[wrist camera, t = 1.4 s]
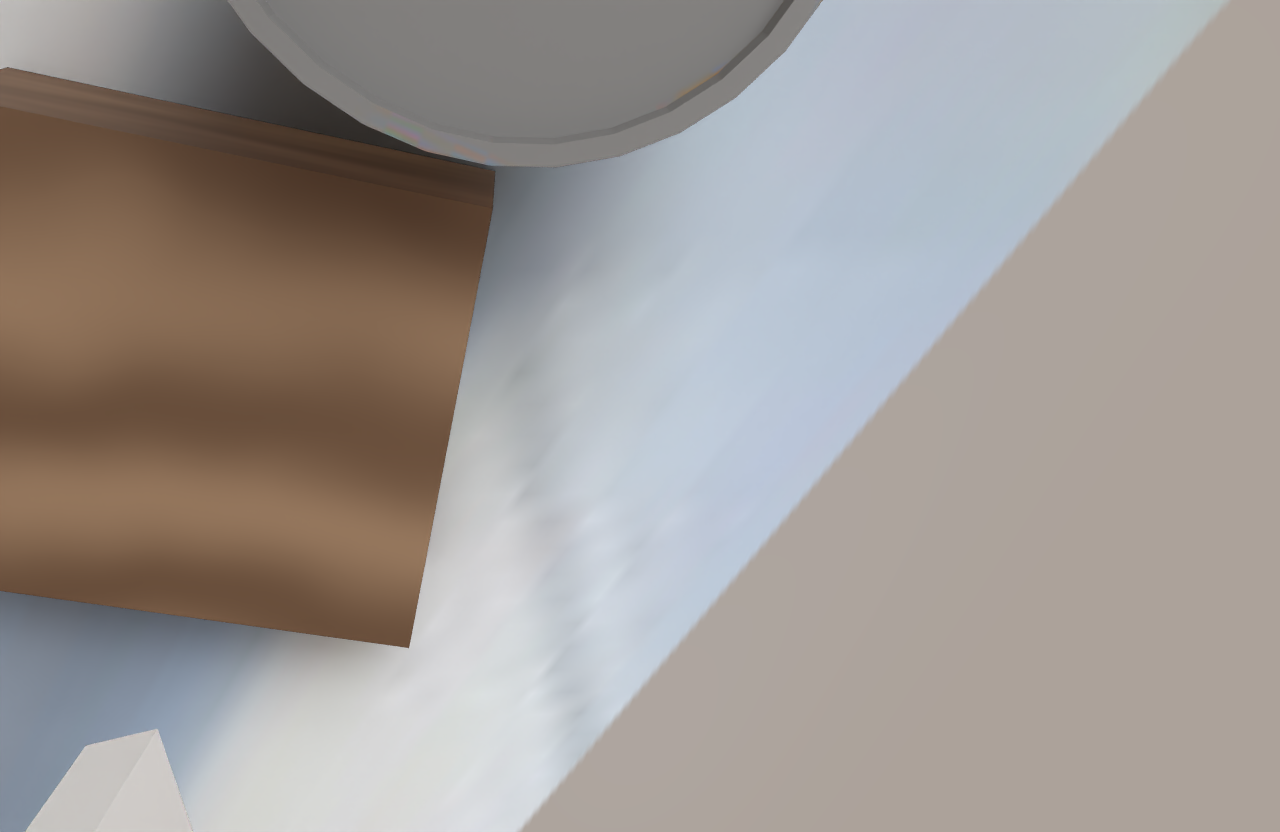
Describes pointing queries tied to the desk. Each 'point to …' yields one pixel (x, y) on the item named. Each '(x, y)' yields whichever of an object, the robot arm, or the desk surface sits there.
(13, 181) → the walnut base
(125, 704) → the desk surface
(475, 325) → the desk surface
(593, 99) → the reusable coffee cup
